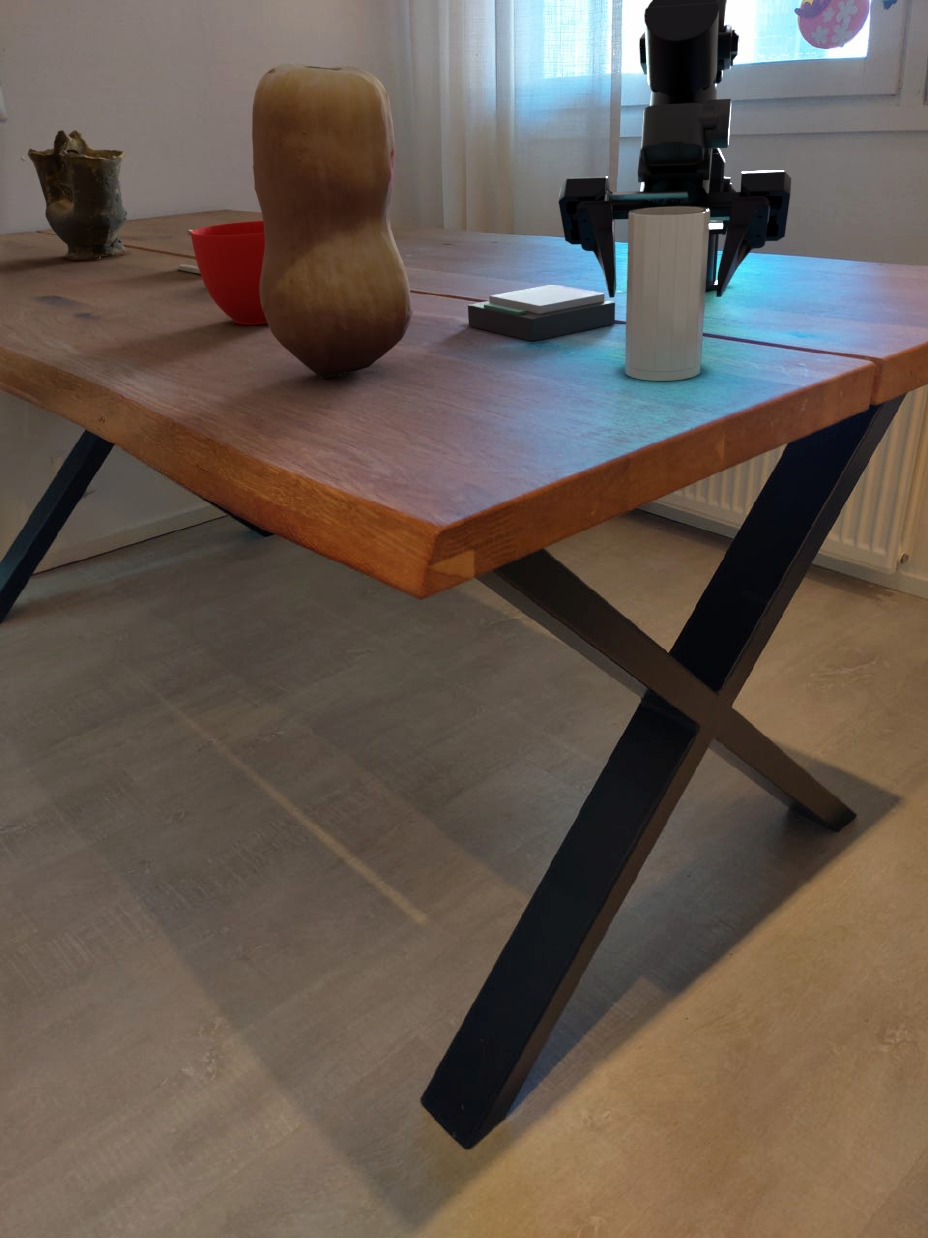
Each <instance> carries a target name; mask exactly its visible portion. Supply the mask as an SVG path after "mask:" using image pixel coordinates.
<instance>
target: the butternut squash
mask: <svg viewBox="0 0 928 1238" xmlns="http://www.w3.org/2000/svg"><path fill="white" fill-rule="evenodd" d="M251 113H252V114H251V115H252V117H251V120H252V121H251V140H252V160H253V161H252V162H253V163H252V172H253V180H254V191H255V193H256V194H255V195H256V197H257V201H258V205H259V207H260V208H259V209H260V211H261V216H262V221H263V222H264V234H265V252H264V258H263V265H262V271H261V278H260V301H261V306H262V309H263V310H262V311H263V312H264V314H265V317H266V320H267V323H268V324H267V325H268V327H269V330H270V332H271V333H272V335H273V337H274V338H275V339H276V340H277V342H278V343H279V344H280V345H281V346H282V347H283V348H284V349H286V350H287V351H288V352H289V353H290V354H291V355H292V356H294V357H295V358H296V359H297V360H298V361H300V363H302V364H303V365H304V366H305V367H307V368H308V369H309V370H310V371H312V372H313V373H314V374H315V375H316V376H317V377H319V378H321V379H330V378H335V377H340V376H342V375H345V374H347V373H353V372H357V371H360V370H363V369H367V368H369V367H371V366H372V365H373V364H374V363H376V361H378V360H379V359H381V358H382V357H384V356H385V354H387V353H388V352H389V351H391V350H392V349H394V347H396V346H397V344H399V343H400V341H402V340H403V338H404V336H405V334H406V332H407V330H408V328H409V327H410V324H411V320H412V317H413V309H412V299H411V289H410V282H409V277H408V274H407V271H406V268H405V264H404V262H403V259H402V256H401V253H400V251H399V249H398V246H397V243H396V240H395V238H394V234H393V230H392V226H391V205H392V197H393V188H394V178H395V177H394V176H395V166H396V165H395V163H396V153H397V148H396V141H395V133H394V122H393V116H392V110H391V102H390V97H389V94H388V93H387V90H386V88H385V86H384V85H383V84H382V82H381V81H380V80H379V79H378V78H376V76H374V75H373V74H372V73H370V72H368V71H366V70H364V69H362V68H359V67H356V66H351V65H338V66H330V67H322V66H315V65H309V64H304V63H281V64H280V63H279V64H277V65H274V66H272V67H271V68H269V69H268V70H267V71H266V72H265V73H264V74H263V75H262V76H261V78H260V79H259V81H258V84H257V86H256V89H255V93H254V97H253V104H252V112H251Z"/></svg>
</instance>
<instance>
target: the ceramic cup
mask: <svg viewBox="0 0 928 1238" xmlns="http://www.w3.org/2000/svg"><path fill="white" fill-rule="evenodd" d="M192 230H193V231H192V232H191V235H190V238H191V243H192V249H193V252H194V256H195V260H196V264H197V267H199V271H200V274H199V275H200V277H201V279H202V281H203V284H204V286H205V288H206V290H207V292H208V294H209V296H210V298H212V300H213V301H214V303H215V304H216V306H217V307H219V309H220V310H221V311H222V312H224V314H225V315H226V316H228V317H229V318H230V319H231V320H232V322H233V323H235V324H238V325H244V326H245V325H246V326H247V325H249V326H252V325H253V326H254V325H255V326H257V325H268V323H267V320H266V317H265V314H264V312H263V311H262V310H263V309H262V306H261V301H260V278H261V271H262V265H263V258H264V252H265V234H264V222H263V220H253V221H251V220H250V221H240V222H231V223H223V224H222V223H221V224H215V225H214V224H213V225H209V226H204V227H200V228H196V229H192Z"/></svg>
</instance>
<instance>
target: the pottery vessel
mask: <svg viewBox="0 0 928 1238" xmlns="http://www.w3.org/2000/svg"><path fill="white" fill-rule="evenodd" d="M27 156H28V158H29V159H30V161H31V162H32V164H33V166H34V168H35V171H36V175H37V178H38V180H39V184H40V188H41V191H42V194H43V198H44V200H45V218H46V221H47V223H48V224H49V227H50V228H51V229H52V230H53V232H54V233H55V234H56V235H57V237H58V238H59V239H60V240H61V241H62V242H63V243H64V244H66V245H67V253H66V254H65V257H66V259H68V260H70V261H88V260H92V261H93V260H94V261H95V260H101V257H103V256H104V257H108V256H113V255H114V254H115V250H116V249H117V250H119V251H120V252H123V253H125V254H126V253H127V249H126V247H125V245H124V244H123V242H122V241H123V240H121V236H120V235H121V233H122V231H123V229H124V226H125V225H126V221H127V215H128V212H127V211H126V209H125V207H124V206H123V198H122V189H121V187H122V186H121V168H122V167H121V166H122V162H123V160H124V158H125V157H126V152H125V151H123V150H119V149H98V148H97V149H96V148H92V147H91V146H90V145H89V143H88V142H87V140H85V139H84V138H83V134H82V133H81V132H80V131H79V130H75V129H73V130H72V131H71V132H70V133H67V132H66V131H65V130H64V129H62V130H58V131H57V133H56V135H55V137H54V141H53V148H47V149H45V150H36V149H33V148H29V149H28V151H27Z"/></svg>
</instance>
